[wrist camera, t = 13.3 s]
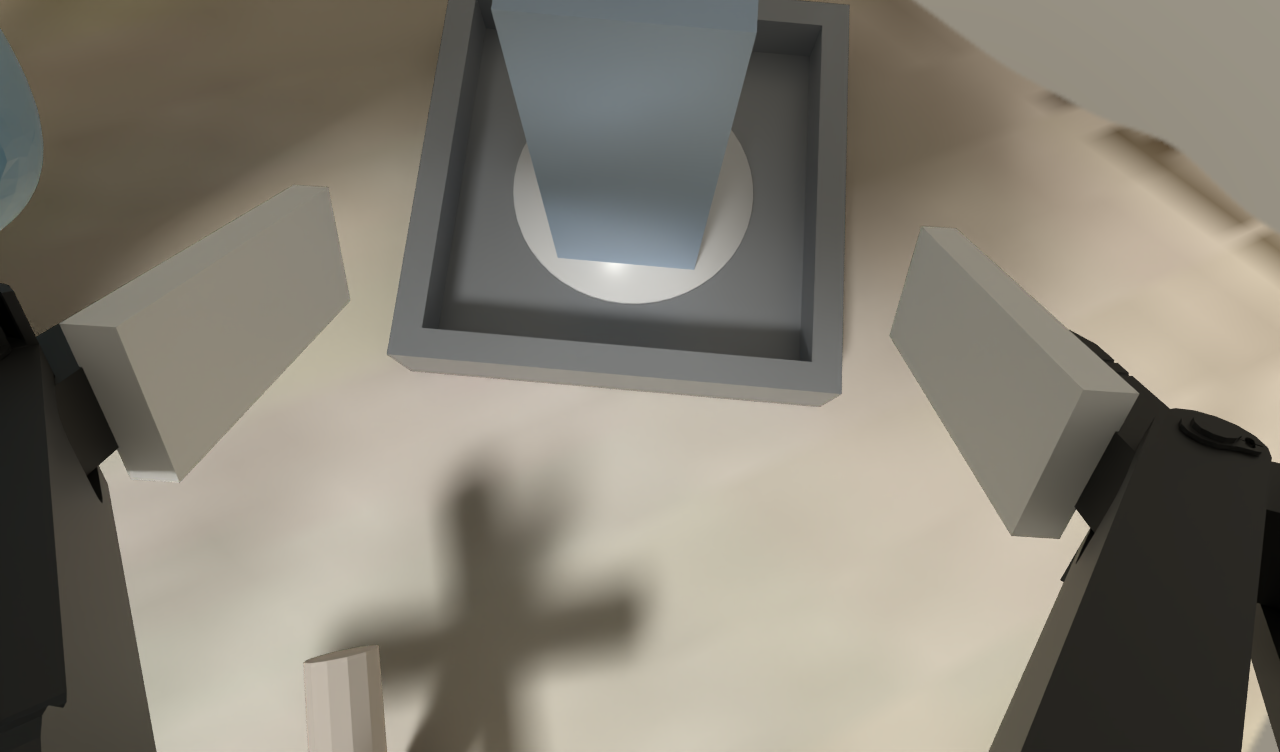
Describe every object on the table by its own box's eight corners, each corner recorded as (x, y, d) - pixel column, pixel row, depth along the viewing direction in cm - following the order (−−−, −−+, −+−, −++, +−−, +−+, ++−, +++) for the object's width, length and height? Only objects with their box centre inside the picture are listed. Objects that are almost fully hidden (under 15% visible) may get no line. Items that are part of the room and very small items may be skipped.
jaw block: (557, 258, 24) (479, -35, 11) (575, 112, 25) (522, -297, 13) (693, 269, 24) (767, -10, 11) (704, 123, 25) (782, -274, 13)
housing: (411, 371, 24) (386, 354, 22) (469, 19, 27) (453, -30, 25) (820, 406, 24) (841, 393, 22) (829, 50, 27) (849, 4, 25)
